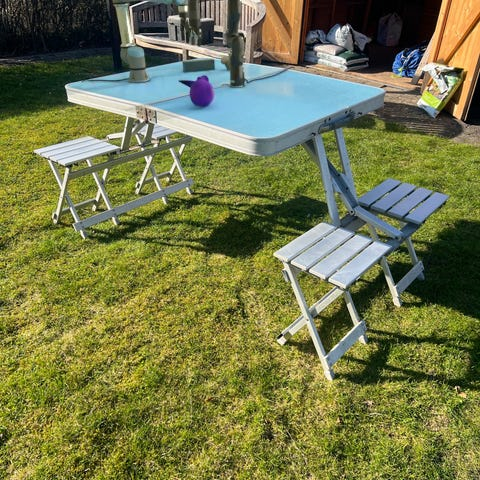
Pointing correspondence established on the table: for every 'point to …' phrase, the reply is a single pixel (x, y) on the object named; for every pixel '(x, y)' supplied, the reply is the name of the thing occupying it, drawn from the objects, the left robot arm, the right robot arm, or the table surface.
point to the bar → (198, 65)
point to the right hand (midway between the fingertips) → (196, 45)
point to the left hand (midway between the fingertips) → (185, 41)
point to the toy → (200, 91)
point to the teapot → (227, 60)
